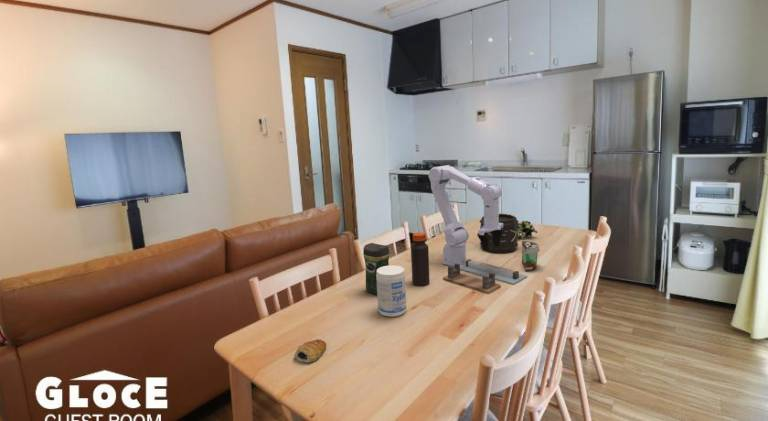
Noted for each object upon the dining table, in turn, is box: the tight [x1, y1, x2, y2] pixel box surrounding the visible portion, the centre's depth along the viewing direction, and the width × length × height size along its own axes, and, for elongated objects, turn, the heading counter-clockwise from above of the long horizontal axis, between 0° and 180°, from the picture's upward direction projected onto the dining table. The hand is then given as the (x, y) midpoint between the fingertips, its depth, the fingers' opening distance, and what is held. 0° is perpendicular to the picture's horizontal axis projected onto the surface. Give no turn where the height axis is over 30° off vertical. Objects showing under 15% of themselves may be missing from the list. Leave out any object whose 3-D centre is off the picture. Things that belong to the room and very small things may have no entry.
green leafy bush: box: [518, 220, 538, 241], centre depth 204 cm, size 11×11×12 cm
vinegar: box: [410, 232, 430, 287], centre depth 151 cm, size 7×7×20 cm
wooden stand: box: [442, 263, 501, 295], centre depth 150 cm, size 21×8×6 cm, turn 42°
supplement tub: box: [376, 264, 407, 318], centre depth 130 cm, size 10×10×15 cm
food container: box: [521, 240, 541, 272], centre depth 162 cm, size 12×6×10 cm, turn 168°
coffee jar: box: [362, 242, 390, 295], centre depth 146 cm, size 10×8×19 cm
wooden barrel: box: [479, 213, 520, 254], centre depth 188 cm, size 18×18×16 cm
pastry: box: [293, 338, 327, 364], centre depth 108 cm, size 9×7×4 cm
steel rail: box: [466, 259, 520, 280], centre depth 159 cm, size 23×2×2 cm, turn 42°
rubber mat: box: [460, 265, 528, 286], centre depth 159 cm, size 26×10×1 cm, turn 42°
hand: (491, 248), depth 158 cm, fingers open, 7 cm apart
